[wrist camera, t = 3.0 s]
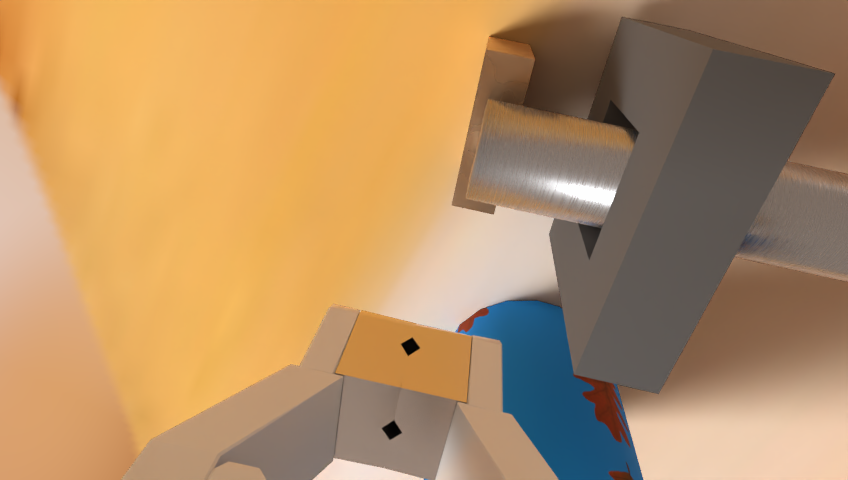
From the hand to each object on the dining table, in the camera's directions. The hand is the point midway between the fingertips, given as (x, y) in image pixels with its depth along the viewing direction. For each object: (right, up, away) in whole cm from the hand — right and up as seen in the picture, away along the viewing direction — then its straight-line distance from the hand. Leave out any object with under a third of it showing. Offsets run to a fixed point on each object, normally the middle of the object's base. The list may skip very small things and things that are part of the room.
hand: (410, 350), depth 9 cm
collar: (+9, +7, +16) cm, 20 cm away
